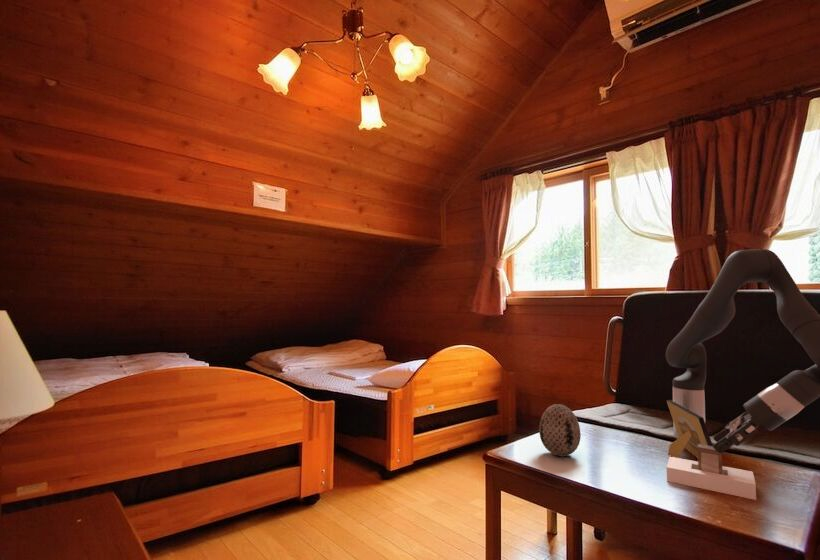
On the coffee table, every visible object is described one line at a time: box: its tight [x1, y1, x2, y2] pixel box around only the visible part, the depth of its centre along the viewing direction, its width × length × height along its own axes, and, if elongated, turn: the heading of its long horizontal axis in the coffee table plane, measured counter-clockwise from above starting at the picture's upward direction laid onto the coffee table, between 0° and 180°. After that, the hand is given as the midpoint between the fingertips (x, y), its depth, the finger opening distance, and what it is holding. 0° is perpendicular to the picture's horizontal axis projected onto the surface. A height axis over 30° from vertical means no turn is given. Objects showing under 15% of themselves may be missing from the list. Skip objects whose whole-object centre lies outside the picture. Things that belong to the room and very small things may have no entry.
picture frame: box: [666, 399, 714, 458], centre depth 130 cm, size 23×9×15 cm, turn 168°
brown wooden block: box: [697, 444, 723, 474], centre depth 111 cm, size 3×5×8 cm, turn 55°
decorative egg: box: [538, 403, 582, 457], centre depth 130 cm, size 12×12×15 cm
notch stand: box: [666, 456, 757, 501], centre depth 110 cm, size 10×18×4 cm, turn 55°
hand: (716, 445), depth 110 cm, fingers open, 8 cm apart
